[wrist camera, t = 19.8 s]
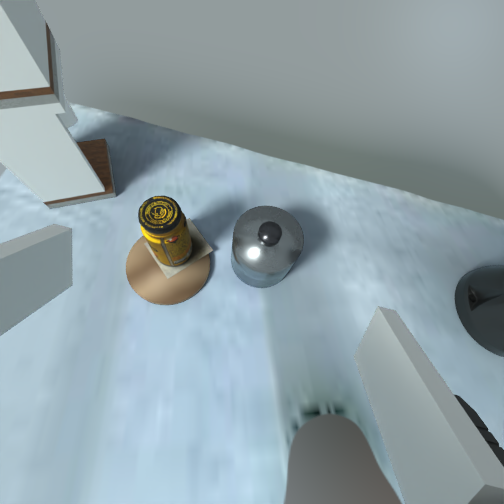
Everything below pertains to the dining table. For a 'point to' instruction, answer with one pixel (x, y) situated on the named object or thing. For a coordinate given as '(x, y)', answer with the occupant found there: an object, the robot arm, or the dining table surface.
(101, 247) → the dining table surface
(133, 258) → the tan plate
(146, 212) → the condiment
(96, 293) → the dining table surface
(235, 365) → the dining table surface
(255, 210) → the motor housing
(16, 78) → the display case
